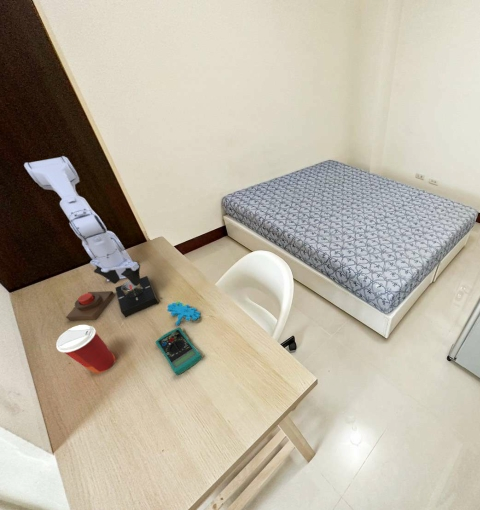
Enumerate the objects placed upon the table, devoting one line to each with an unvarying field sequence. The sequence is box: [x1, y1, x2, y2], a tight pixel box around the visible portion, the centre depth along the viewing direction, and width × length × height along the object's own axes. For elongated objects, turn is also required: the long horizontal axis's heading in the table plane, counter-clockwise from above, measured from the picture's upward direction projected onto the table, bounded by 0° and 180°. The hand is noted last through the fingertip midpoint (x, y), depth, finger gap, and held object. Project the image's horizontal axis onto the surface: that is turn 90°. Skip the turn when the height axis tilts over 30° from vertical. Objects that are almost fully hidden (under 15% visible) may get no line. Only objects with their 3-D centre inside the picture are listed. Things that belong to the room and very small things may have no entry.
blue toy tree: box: [166, 300, 201, 326], centre depth 85 cm, size 11×6×10 cm
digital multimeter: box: [154, 327, 203, 376], centre depth 77 cm, size 7×15×3 cm, turn 48°
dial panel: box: [115, 275, 160, 318], centre depth 93 cm, size 14×10×3 cm
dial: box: [121, 280, 143, 298], centre depth 91 cm, size 5×5×4 cm
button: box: [77, 292, 94, 305], centre depth 87 cm, size 4×4×2 cm
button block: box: [65, 290, 116, 322], centre depth 89 cm, size 11×8×4 cm
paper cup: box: [55, 324, 116, 374], centre depth 70 cm, size 8×8×14 cm
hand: (127, 282), depth 89 cm, fingers open, 7 cm apart
